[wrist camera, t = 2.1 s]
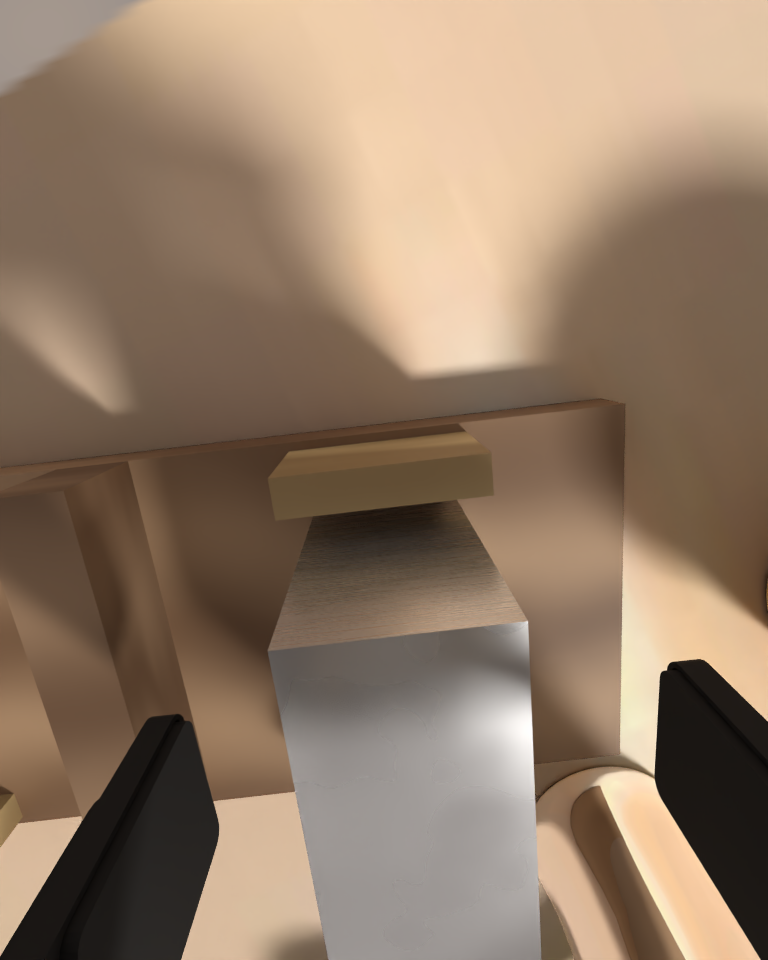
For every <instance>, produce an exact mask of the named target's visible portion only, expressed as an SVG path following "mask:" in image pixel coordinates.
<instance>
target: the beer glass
mask: <svg viewBox="0 0 768 960" xmlns="http://www.w3.org/2000/svg"><path fill="white" fill-rule="evenodd" d="M535 809H536V834H537V859H538V878H539V880H540V882H541V884H542V886H543V888H544V889H545V891H546V893H547V895H548V897H549V899H550V901H551V903H552V905H553V907H554V909H555V911H556V913H557V916H558V918H559V920H560V922H561V924H562V927H563V930H564V932H565V935H566V938H567V940H568V943H569V946H570V949H571V952H572V955H573V959H574V960H761V959H760V958H759V956H758V955H757V953H756V951H755V950H754V948H753V947H752V945H751V943H750V942H749V940H748V938H747V937H746V935H745V934H744V932H743V930H742V929H741V927H740V926H739V924H738V922H737V921H736V919H735V917H734V916H733V914H732V913H731V911H730V909H729V908H728V906H727V905H726V903H725V901H724V900H723V898H722V896H721V895H720V893H719V892H718V890H717V888H716V887H715V885H714V884H713V882H712V880H711V879H710V877H709V875H708V874H707V872H706V871H705V869H704V867H703V866H702V864H701V863H700V861H699V859H698V858H697V856H696V854H695V853H694V851H693V850H692V848H691V846H690V845H689V843H688V842H687V840H686V838H685V837H684V835H683V833H682V832H681V830H680V829H679V827H678V825H677V824H676V822H675V821H674V819H673V817H672V816H671V814H670V812H669V811H668V809H667V808H666V806H665V804H664V803H663V801H662V799H661V798H660V796H659V793H658V791H657V788H656V784H655V779H654V778H652V777H651V776H649V775H647V774H645V773H643V772H640V771H637V770H634V769H630V768H624V767H597V768H591V769H587V770H583V771H580V772H577V773H574V774H572V775H570V776H568V777H566V778H564V779H562V780H560V781H559V782H557V783H556V784H554V785H553V786H552V787H550V788H549V789H548V790H547V791H546V792H545V793H544V794H543V795H542V796H541V797H540V798H539V800H538V801H537V802H536V804H535Z"/></svg>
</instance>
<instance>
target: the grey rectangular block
mask: <svg viewBox="0 0 768 960" xmlns="http://www.w3.org/2000/svg"><path fill="white" fill-rule="evenodd" d="M268 656H269V661H270V666H271V671H272V676H273V681H274V686H275V691H276V696H277V701H278V706H279V712H280V717H281V722H282V727H283V732H284V737H285V742H286V747H287V752H288V757H289V762H290V767H291V772H292V778H293V783H294V788H295V793H296V798H297V803H298V808H299V813H300V818H301V823H302V828H303V833H304V838H305V844H306V849H307V854H308V859H309V864H310V869H311V874H312V879H313V884H314V889H315V894H316V899H317V904H318V910H319V915H320V920H321V925H322V930H323V935H324V940H325V945H326V950H327V955H328V960H541V935H540V909H539V884H538V859H537V834H536V809H535V784H534V759H533V733H532V708H531V683H530V658H529V633H528V620H527V619H526V617H525V615H524V613H523V612H522V610H521V608H520V607H519V605H518V603H517V601H516V600H515V598H514V596H513V595H512V593H511V591H510V589H509V588H508V586H507V584H506V583H505V581H504V579H503V578H502V576H501V574H500V572H499V571H498V569H497V567H496V566H495V564H494V562H493V560H492V559H491V557H490V555H489V554H488V552H487V550H486V548H485V547H484V545H483V543H482V542H481V540H480V538H479V537H478V535H477V533H476V531H475V530H474V528H473V526H472V525H471V523H470V521H469V519H468V518H467V516H466V514H465V513H464V511H463V509H462V507H461V506H460V504H459V502H458V501H457V500H451V501H442V502H434V503H425V504H416V505H408V506H399V507H390V508H381V509H373V510H364V511H355V512H347V513H338V514H329V515H321V516H313V518H312V521H311V524H310V527H309V530H308V533H307V536H306V539H305V542H304V545H303V548H302V551H301V554H300V557H299V560H298V563H297V566H296V568H295V571H294V574H293V577H292V580H291V583H290V586H289V589H288V592H287V595H286V598H285V601H284V604H283V607H282V610H281V613H280V616H279V619H278V622H277V625H276V628H275V631H274V634H273V637H272V639H271V642H270V645H269V648H268Z"/></svg>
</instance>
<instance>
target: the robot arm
mask: <svg viewBox="0 0 768 960" xmlns="http://www.w3.org/2000/svg"><path fill="white" fill-rule="evenodd" d="M655 784H656V788H657V791H658V793H659V796H660V798H661V799H662V801H663V803H664V804H665V806H666V808H667V809H668V811H669V812H670V814H671V816H672V817H673V819H674V821H675V822H676V824H677V825H678V827H679V829H680V830H681V832H682V833H683V835H684V837H685V838H686V840H687V842H688V843H689V845H690V846H691V848H692V850H693V851H694V853H695V854H696V856H697V858H698V859H699V861H700V863H701V864H702V866H703V867H704V869H705V871H706V872H707V874H708V875H709V877H710V879H711V880H712V882H713V884H714V885H715V887H716V888H717V890H718V892H719V893H720V895H721V896H722V898H723V900H724V901H725V903H726V905H727V906H728V908H729V909H730V911H731V913H732V914H733V916H734V917H735V919H736V921H737V922H738V924H739V926H740V927H741V929H742V930H743V932H744V934H745V935H746V937H747V938H748V940H749V942H750V943H751V945H752V947H753V948H754V950H755V951H756V953H757V955H758V956H759V958H760V959H761V960H768V722H767V721H766V720H765V719H764V718H763V717H762V716H761V715H760V714H759V713H758V712H757V711H756V710H755V709H754V708H753V707H752V706H751V705H750V704H749V703H748V702H747V701H746V700H745V699H744V698H743V697H742V696H741V695H740V694H739V693H738V692H737V691H736V690H735V689H734V688H733V687H732V686H731V685H730V684H729V683H728V682H727V681H726V680H725V679H724V678H723V677H722V676H720V675H719V674H718V673H717V672H716V671H715V670H714V669H713V668H712V667H711V666H710V665H709V664H708V663H707V662H706V661H704V660H701V659H697V660H687V661H678V662H671V663H670V664H669V665H668V668H667V671H662V673H661V675H660V686H659V705H658V723H657V741H656V759H655ZM218 836H219V822H218V818H217V814H216V810H215V806H214V803H213V799H212V795H211V792H210V788H209V784H208V780H207V777H206V773H205V769H204V765H203V762H202V758H201V754H200V751H199V747H198V743H197V739H196V736H195V732H194V728H193V725H192V723H191V722H190V721H184V718H183V716H182V715H181V714H172V715H162V716H153V717H150V718H148V719H147V721H146V722H145V723H144V725H143V727H142V728H141V730H140V732H139V733H138V735H137V737H136V738H135V740H134V742H133V743H132V745H131V747H130V748H129V750H128V752H127V753H126V755H125V757H124V758H123V760H122V762H121V763H120V765H119V767H118V768H117V770H116V772H115V773H114V775H113V777H112V778H111V780H110V782H109V783H108V785H107V787H106V788H105V790H104V792H103V793H102V795H101V797H100V798H99V799H98V800H97V801H96V802H95V803H94V804H93V805H92V807H91V808H90V809H89V811H88V813H87V814H86V816H85V818H84V819H83V821H82V822H81V824H80V826H79V827H78V829H77V831H76V832H75V834H74V836H73V837H72V839H71V841H70V842H69V844H68V846H67V847H66V849H65V851H64V852H63V854H62V855H61V857H60V859H59V860H58V862H57V864H56V865H55V867H54V869H53V870H52V872H51V874H50V875H49V877H48V879H47V880H46V882H45V884H44V885H43V887H42V888H41V890H40V892H39V893H38V895H37V897H36V898H35V900H34V902H33V903H32V905H31V907H30V908H29V910H28V912H27V913H26V915H25V917H24V918H23V920H22V921H21V923H20V925H19V926H18V928H17V930H16V931H15V933H14V935H13V936H12V938H11V940H10V941H9V943H8V945H7V946H6V948H5V950H4V951H3V953H2V955H1V956H0V960H181V958H182V955H183V952H184V948H185V945H186V942H187V939H188V936H189V932H190V929H191V926H192V923H193V920H194V916H195V913H196V910H197V907H198V904H199V900H200V897H201V894H202V891H203V888H204V884H205V881H206V878H207V875H208V872H209V868H210V865H211V862H212V859H213V856H214V852H215V849H216V846H217V842H218Z"/></svg>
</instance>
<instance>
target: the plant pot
mask: <svg viewBox="0 0 768 960" xmlns="http://www.w3.org/2000/svg"><path fill="white" fill-rule="evenodd" d="M766 600H767V609H768V580H767V589H766Z"/></svg>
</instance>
